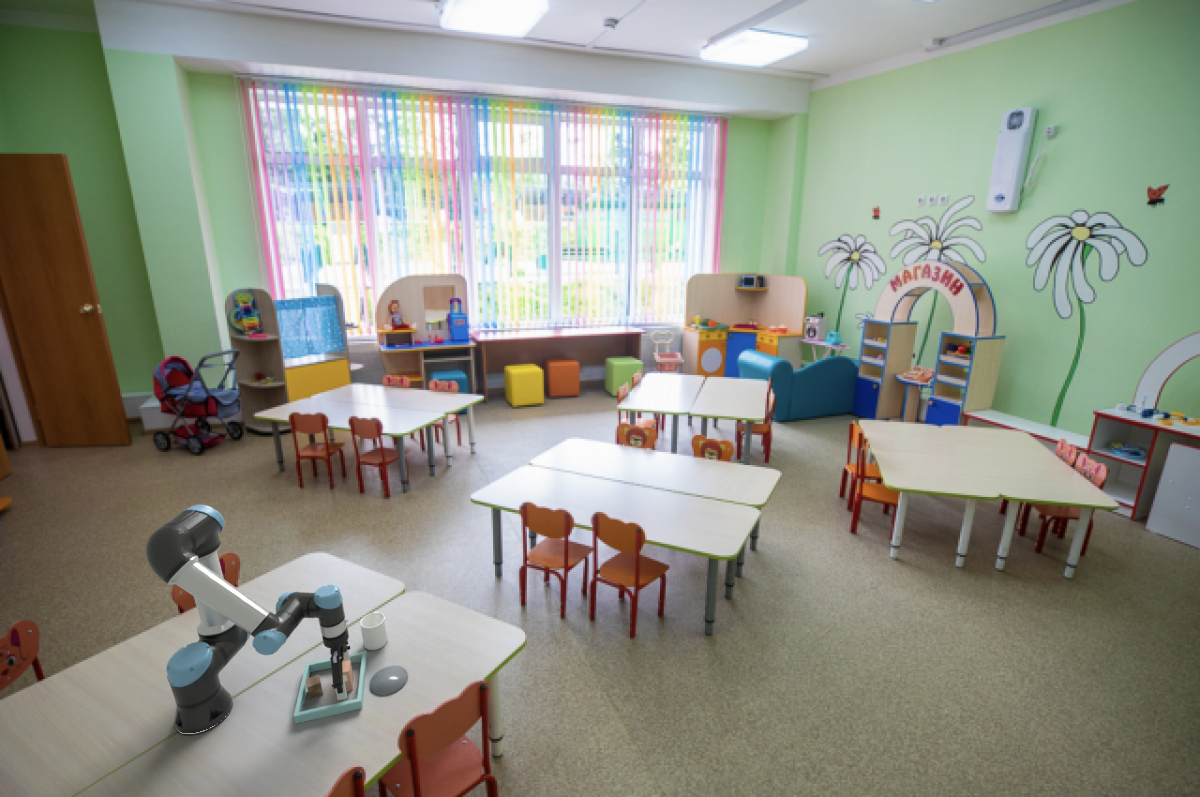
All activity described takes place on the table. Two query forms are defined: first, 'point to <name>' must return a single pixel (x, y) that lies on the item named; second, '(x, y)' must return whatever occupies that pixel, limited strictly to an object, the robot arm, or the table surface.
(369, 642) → the cup
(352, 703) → the corral
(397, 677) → the grey dome puck
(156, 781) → the table surface
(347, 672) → the painted box
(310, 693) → the walnut block
